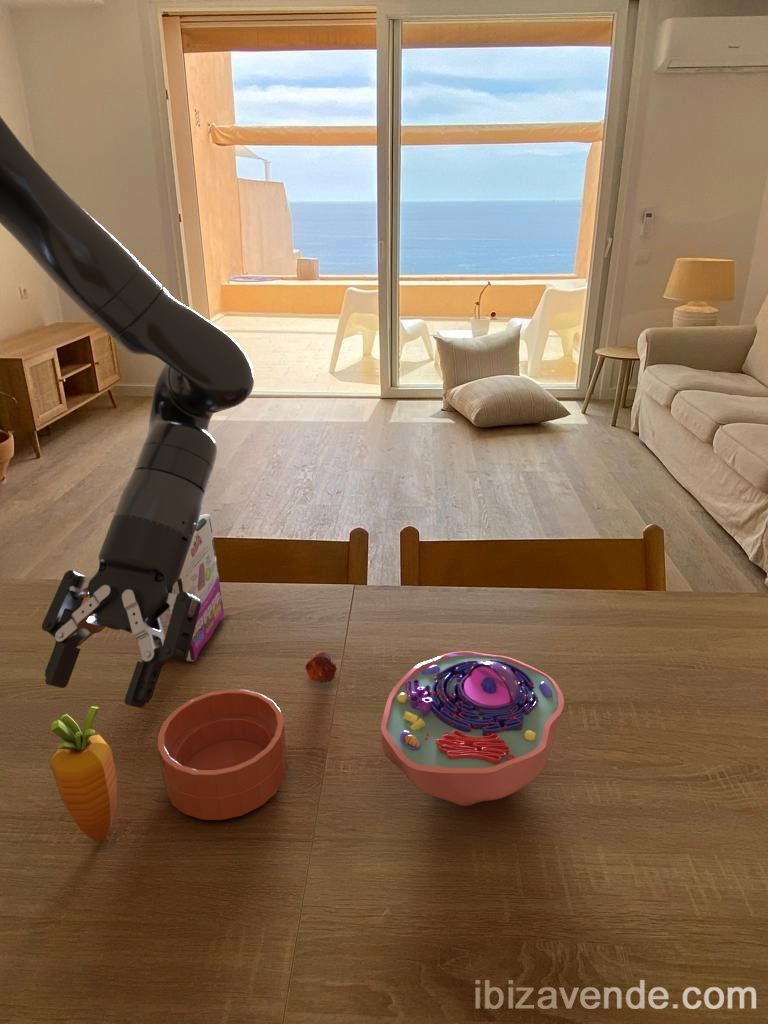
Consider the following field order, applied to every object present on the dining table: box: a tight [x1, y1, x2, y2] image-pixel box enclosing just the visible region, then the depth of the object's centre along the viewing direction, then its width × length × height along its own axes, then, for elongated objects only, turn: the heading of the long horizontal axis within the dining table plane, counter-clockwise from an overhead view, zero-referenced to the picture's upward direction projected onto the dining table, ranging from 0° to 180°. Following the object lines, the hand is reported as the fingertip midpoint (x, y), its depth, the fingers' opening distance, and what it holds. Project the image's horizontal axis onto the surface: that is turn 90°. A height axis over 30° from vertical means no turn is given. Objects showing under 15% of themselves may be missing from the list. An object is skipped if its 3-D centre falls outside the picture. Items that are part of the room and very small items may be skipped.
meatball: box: [305, 651, 338, 683], centre depth 85 cm, size 4×4×4 cm
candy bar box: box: [159, 513, 225, 663], centre depth 92 cm, size 11×5×16 cm, turn 171°
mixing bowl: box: [157, 689, 288, 821], centre depth 71 cm, size 12×12×6 cm
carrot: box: [50, 706, 118, 843], centre depth 62 cm, size 5×5×15 cm
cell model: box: [380, 650, 565, 807], centre depth 70 cm, size 17×20×11 cm
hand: (93, 696), depth 61 cm, fingers open, 8 cm apart
